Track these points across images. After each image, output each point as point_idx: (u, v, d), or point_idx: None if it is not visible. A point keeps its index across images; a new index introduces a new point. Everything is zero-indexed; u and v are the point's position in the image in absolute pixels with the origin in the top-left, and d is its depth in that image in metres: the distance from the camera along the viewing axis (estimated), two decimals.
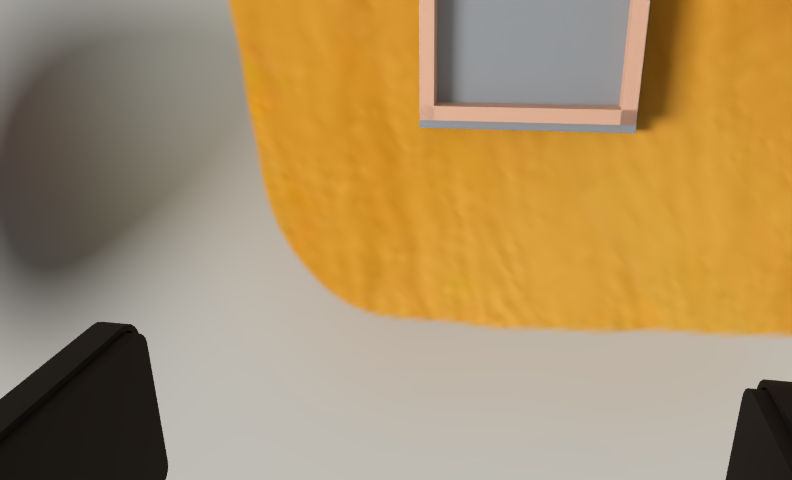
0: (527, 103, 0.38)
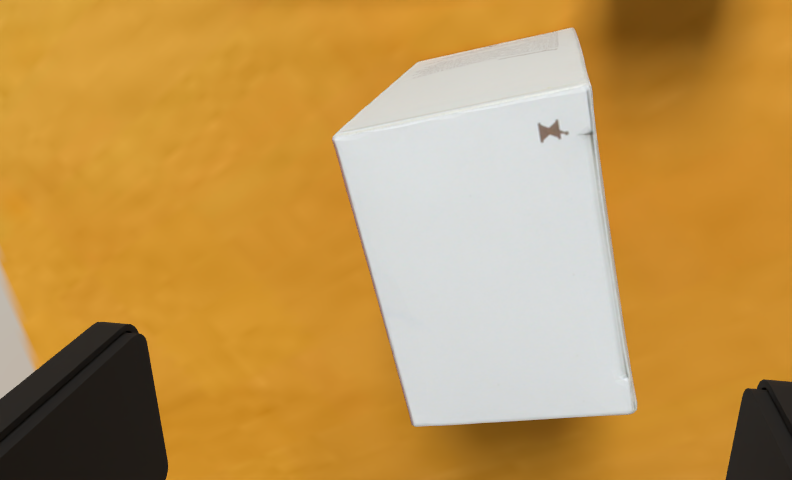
0: None
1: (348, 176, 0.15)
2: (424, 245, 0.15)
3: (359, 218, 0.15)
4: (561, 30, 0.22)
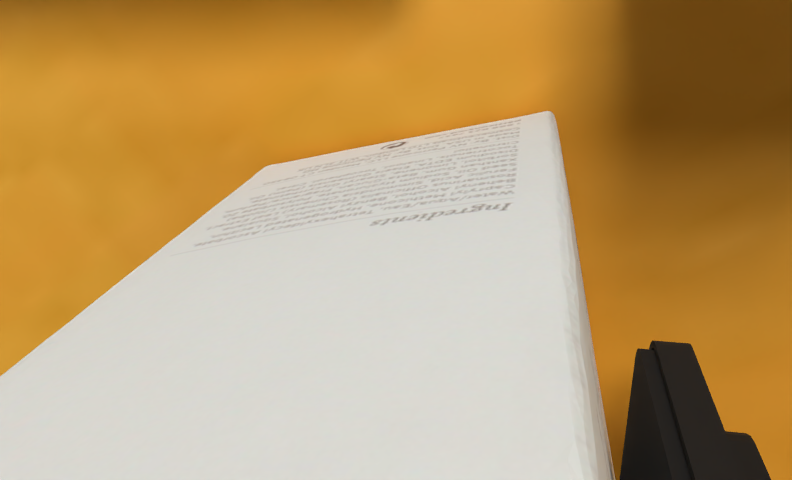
0: None
1: None
2: None
3: None
4: (528, 118, 0.11)
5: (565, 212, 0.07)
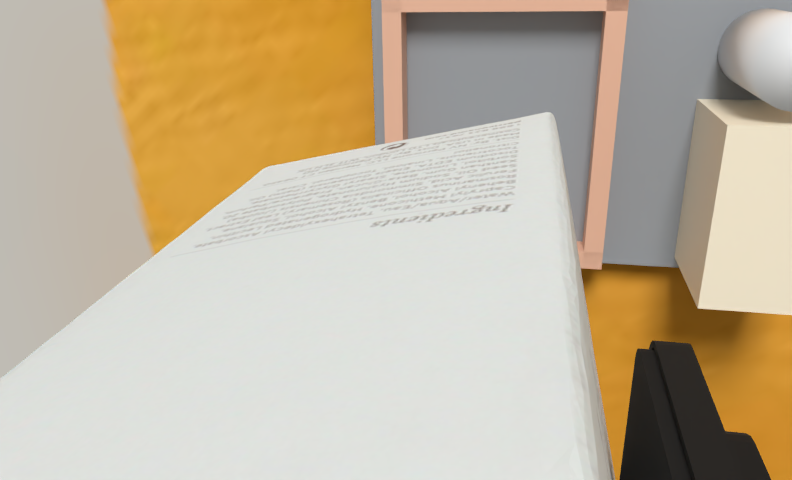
0: (408, 130, 0.31)
1: None
2: None
3: None
4: (528, 119, 0.11)
5: (565, 213, 0.07)
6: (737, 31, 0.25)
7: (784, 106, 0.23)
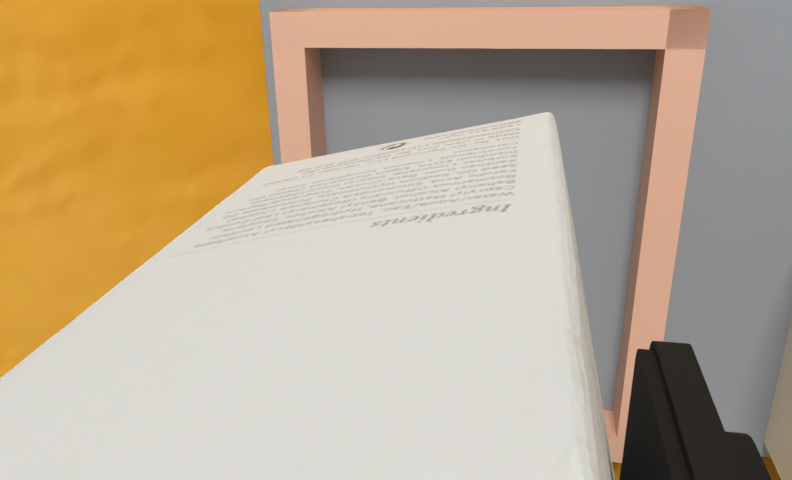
0: None
1: None
2: None
3: None
4: (527, 119, 0.11)
5: (565, 213, 0.07)
6: None
7: None
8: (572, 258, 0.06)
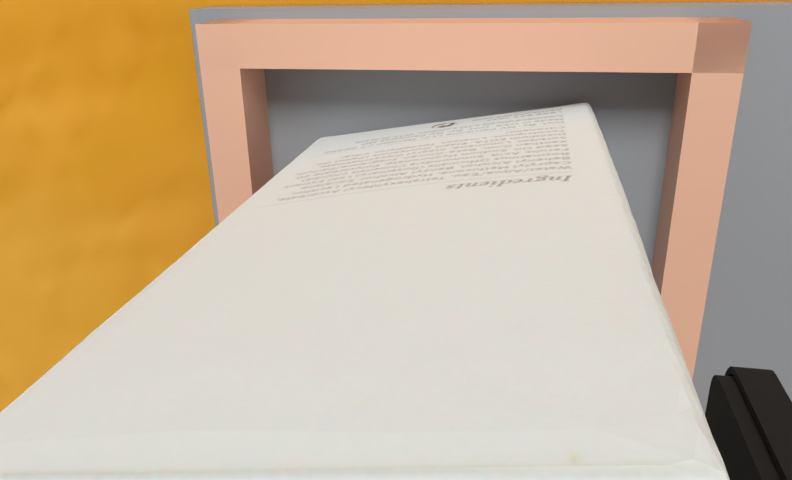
0: None
1: None
2: None
3: None
4: (568, 107, 0.12)
5: (620, 185, 0.08)
6: None
7: None
8: (633, 219, 0.07)
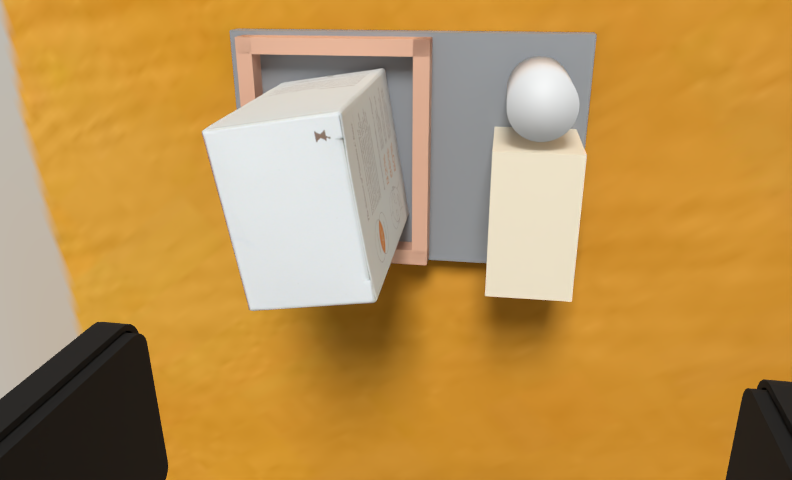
0: None
1: (210, 154, 0.26)
2: (253, 197, 0.26)
3: (217, 179, 0.26)
4: (375, 69, 0.34)
5: (366, 86, 0.29)
6: (512, 75, 0.32)
7: (532, 137, 0.29)
8: (362, 91, 0.28)
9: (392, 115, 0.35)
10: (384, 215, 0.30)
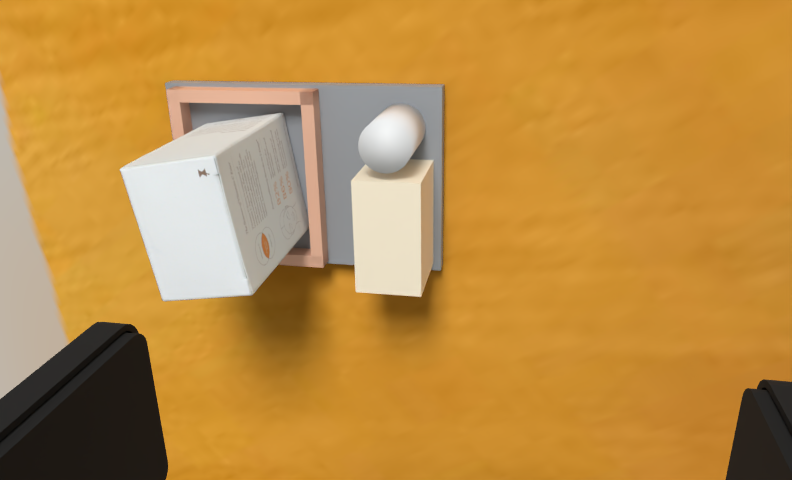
0: None
1: (126, 185, 0.35)
2: (158, 216, 0.36)
3: (132, 204, 0.36)
4: (274, 114, 0.43)
5: (254, 131, 0.39)
6: None
7: (379, 170, 0.38)
8: (246, 136, 0.38)
9: (291, 149, 0.44)
10: (270, 229, 0.40)
